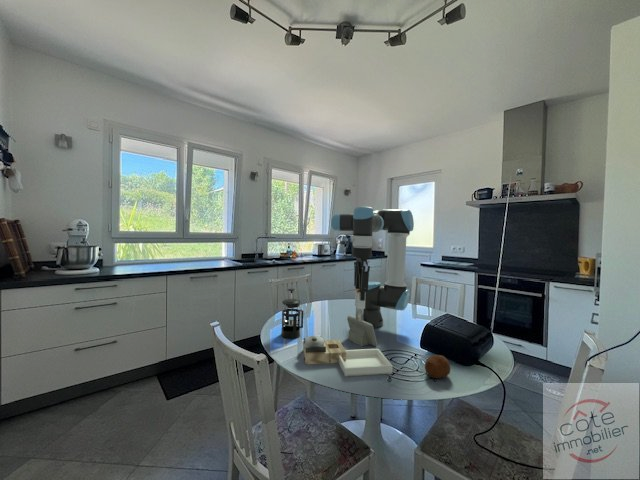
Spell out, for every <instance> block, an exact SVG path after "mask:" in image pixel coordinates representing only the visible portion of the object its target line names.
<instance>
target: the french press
mask: <svg viewBox="0 0 640 480" xmlns="http://www.w3.org/2000/svg"><path fill="white" fill-rule="evenodd" d="M287 291H288V292H290V294H291V295H290V298H288V299H284V300H282V301H281V302H282V304H283V305H285V306H286V307H287V308H285V309H282V310H281V334H280V336H281V338H282V339H286V340H295V339H298V338H300V337H301V331H300V330H301V329H303V328H304V309H298V308H299V307H300V304H301V300H299V299H297V298H296V299H295V298H293V292H295V291H297V289H296V288H288V289H287ZM292 312H296V313H292ZM290 318H292V319H290Z"/></svg>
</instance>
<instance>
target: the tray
mask: <svg viewBox="0 0 640 480" xmlns="http://www.w3.org/2000/svg"><path fill="white" fill-rule="evenodd" d="M345 351H346V361H344V360H343V358H342V357H341V355H339V363H338V365H339V367H340V368H341V370H342V371H341V372H342V373H343V375H344V377H346V378H347V377H348V378H349V377H359V376H360V377H362V376H375V375H376V376H377V375H389V374H390V375H391V374H393V367H394V366H393V365H392V363H391V361H389V360H388V359H387V357H386V356H385V355H384V354H383V353H382V351H381V350H380V348H364V349H361V348H360V349H345Z"/></svg>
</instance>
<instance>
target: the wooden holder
mask: <svg viewBox="0 0 640 480" xmlns="http://www.w3.org/2000/svg"><path fill="white" fill-rule="evenodd" d="M302 343H303V344H302V352H303V356H304V363H305V365H321V364H339V355H341V357H342V358H343V360H344V361H346V351H345V350H346V349H345V347H344V346H343V344H342V343H341V341H340V339H327V340H326V339H324V338H323V337H321V336H319V335H309V336H307V337H303V341H302Z"/></svg>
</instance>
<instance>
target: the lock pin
mask: <svg viewBox="0 0 640 480" xmlns="http://www.w3.org/2000/svg"><path fill="white" fill-rule="evenodd" d="M357 290H359V288H358V289H357ZM357 290H356V289H355V294H356V306H355V320H357V321H363V312H364V309H358V292H357Z"/></svg>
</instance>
